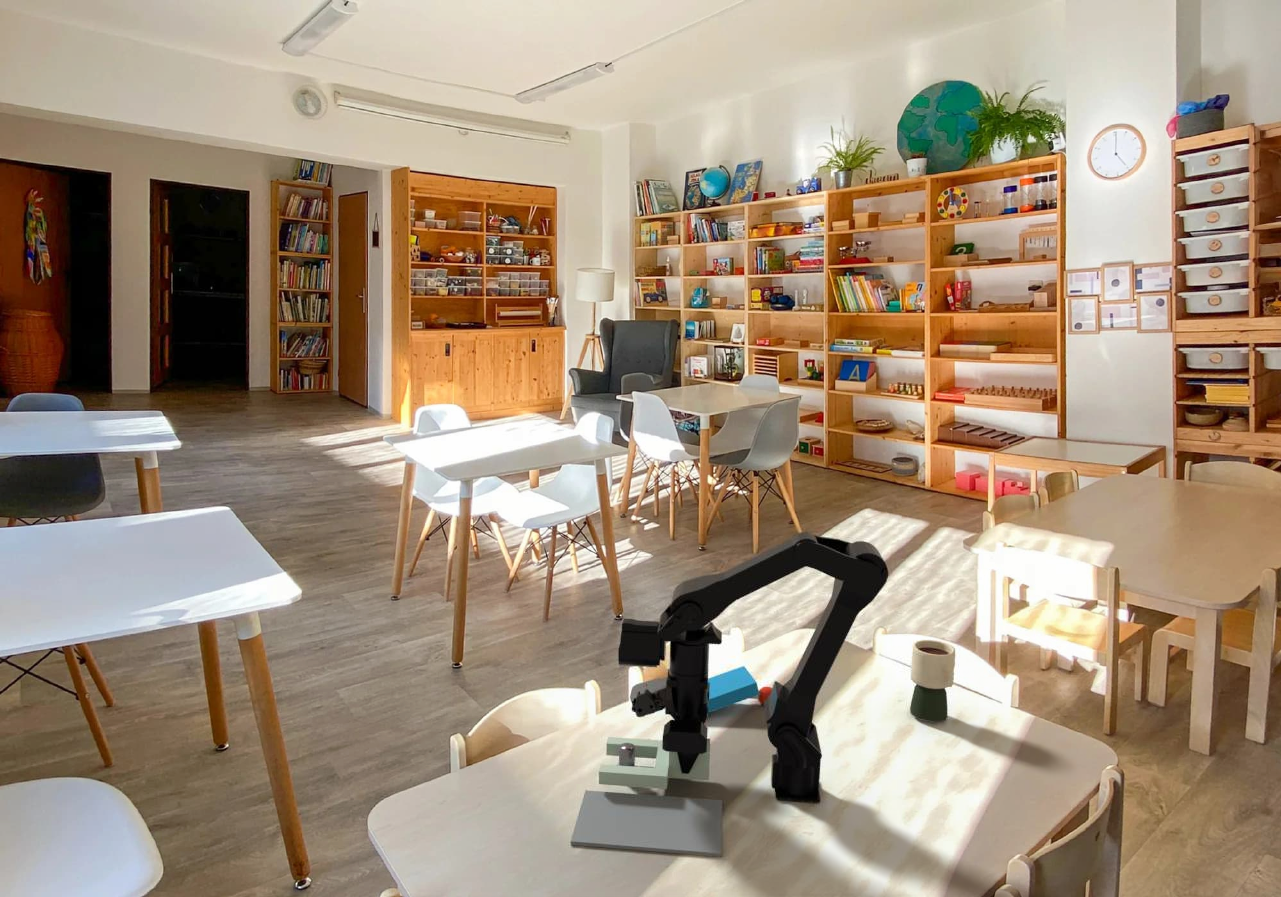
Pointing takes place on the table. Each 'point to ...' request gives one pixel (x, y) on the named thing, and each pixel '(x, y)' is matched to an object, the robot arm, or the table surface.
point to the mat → (649, 823)
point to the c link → (650, 777)
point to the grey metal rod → (627, 755)
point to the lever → (734, 689)
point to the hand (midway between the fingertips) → (686, 765)
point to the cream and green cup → (931, 678)
